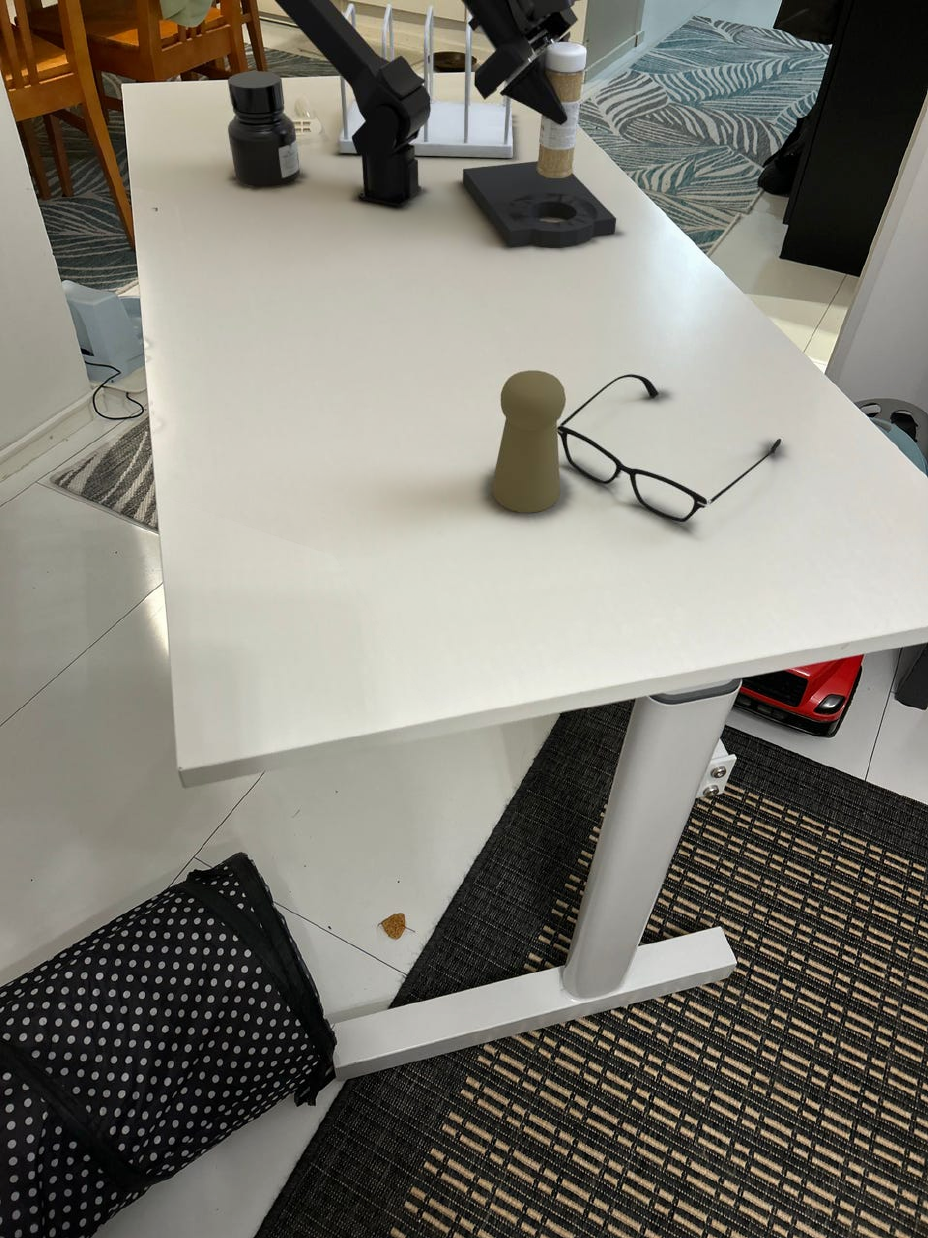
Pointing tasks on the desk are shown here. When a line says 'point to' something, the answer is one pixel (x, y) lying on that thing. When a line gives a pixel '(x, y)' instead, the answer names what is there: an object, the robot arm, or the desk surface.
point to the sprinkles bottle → (566, 80)
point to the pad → (537, 205)
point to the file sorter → (443, 110)
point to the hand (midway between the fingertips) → (571, 115)
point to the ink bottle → (261, 131)
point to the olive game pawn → (529, 443)
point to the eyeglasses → (698, 499)
